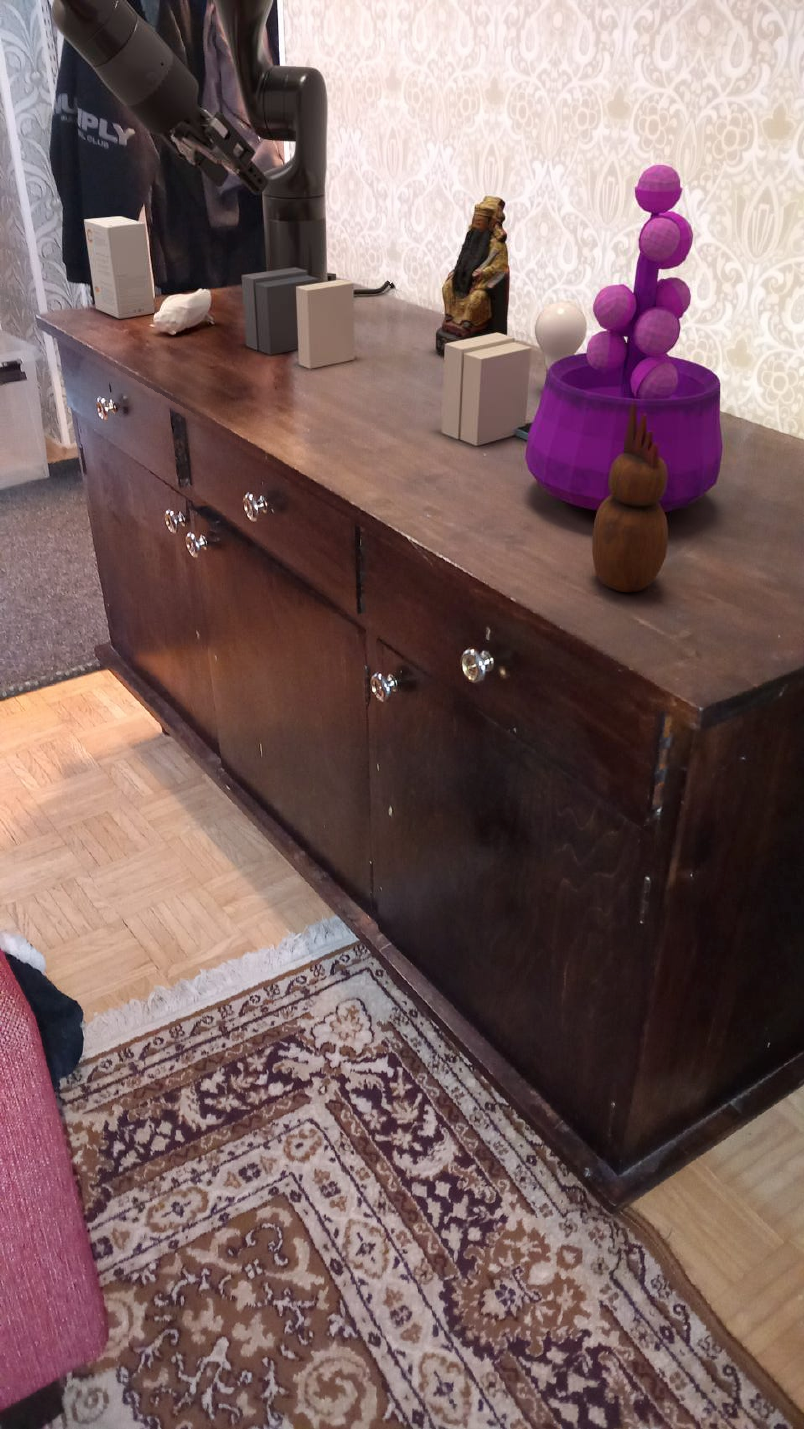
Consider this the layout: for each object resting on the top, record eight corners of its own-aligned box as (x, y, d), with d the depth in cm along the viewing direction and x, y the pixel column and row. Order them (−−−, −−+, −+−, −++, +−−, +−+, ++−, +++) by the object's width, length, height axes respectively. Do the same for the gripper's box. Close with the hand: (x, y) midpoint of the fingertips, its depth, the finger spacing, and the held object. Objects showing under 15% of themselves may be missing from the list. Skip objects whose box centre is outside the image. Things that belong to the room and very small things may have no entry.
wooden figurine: (580, 565, 94) (601, 396, 86) (645, 564, 95) (671, 395, 86) (599, 602, 89) (622, 424, 80) (667, 600, 89) (697, 423, 81)
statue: (428, 350, 151) (432, 194, 140) (475, 343, 154) (483, 190, 143) (474, 372, 142) (482, 208, 131) (523, 365, 145) (535, 204, 134)
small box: (156, 313, 166) (146, 222, 159) (118, 319, 163) (106, 226, 155) (131, 303, 171) (120, 214, 164) (94, 309, 168) (82, 218, 160)
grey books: (245, 346, 151) (241, 275, 146) (298, 336, 156) (295, 267, 151) (269, 355, 148) (265, 282, 142) (321, 344, 152) (320, 274, 147)
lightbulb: (586, 388, 137) (596, 299, 131) (571, 402, 132) (580, 310, 126) (539, 382, 139) (546, 293, 133) (522, 395, 134) (529, 304, 128)
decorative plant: (547, 456, 117) (576, 146, 100) (720, 479, 112) (781, 158, 95) (502, 521, 102) (527, 171, 85) (699, 552, 97) (768, 186, 80)
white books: (441, 432, 122) (444, 343, 117) (492, 419, 127) (497, 332, 121) (475, 446, 119) (480, 355, 113) (526, 431, 123) (533, 343, 117)
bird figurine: (185, 329, 163) (144, 326, 155) (194, 283, 161) (153, 278, 152) (211, 339, 162) (171, 338, 153) (221, 293, 159) (181, 289, 151)
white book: (298, 364, 144) (295, 286, 139) (343, 355, 148) (341, 279, 143) (310, 369, 143) (307, 290, 137) (354, 359, 147) (353, 282, 141)
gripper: (198, 47, 109) (294, 164, 122) (131, 42, 118) (228, 152, 131) (157, 108, 109) (258, 219, 122) (94, 98, 119) (194, 203, 131)
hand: (242, 184), depth 126 cm, fingers open, 8 cm apart
